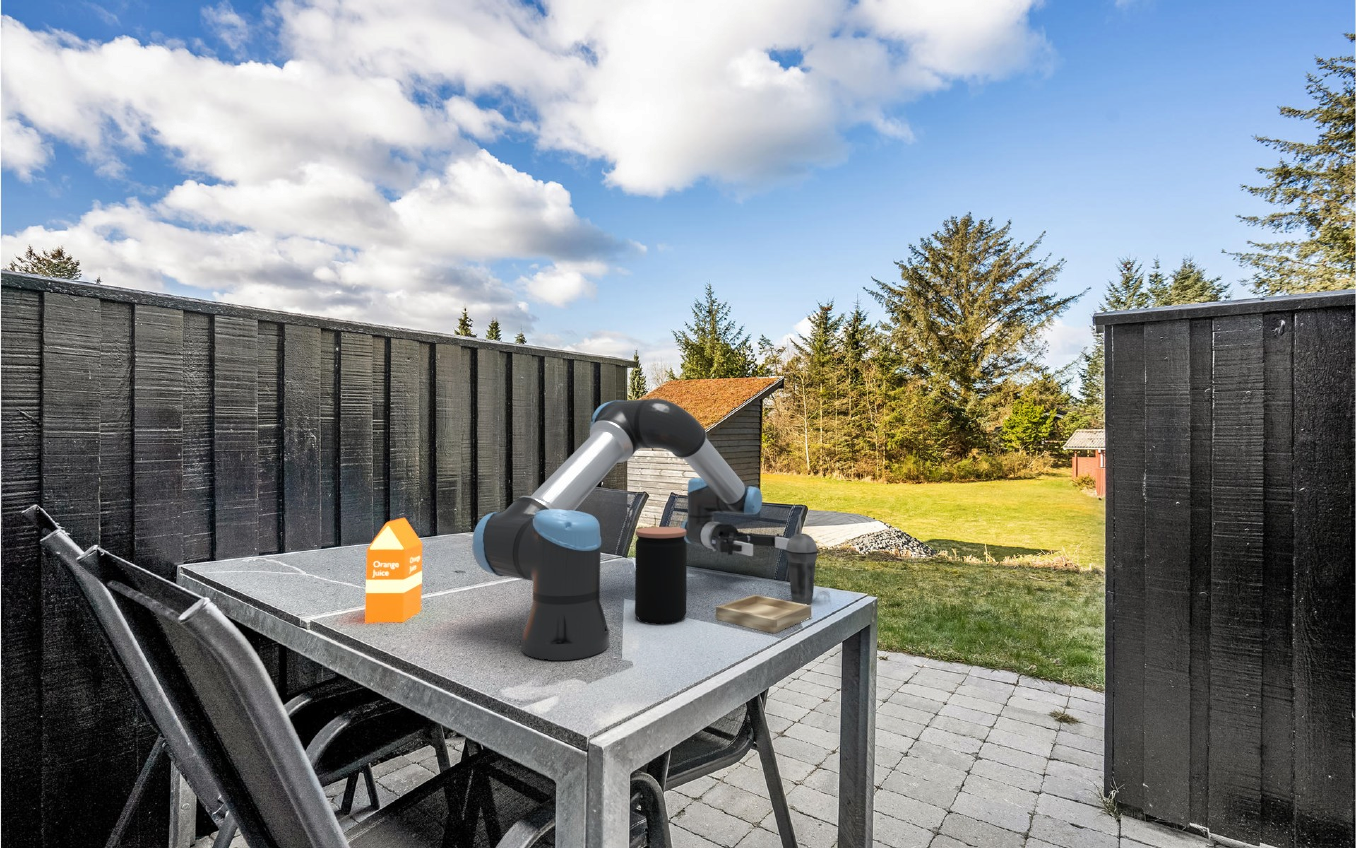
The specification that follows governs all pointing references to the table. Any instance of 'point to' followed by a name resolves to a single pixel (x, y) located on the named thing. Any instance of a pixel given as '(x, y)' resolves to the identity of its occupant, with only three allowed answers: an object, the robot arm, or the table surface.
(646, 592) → the coffee jar
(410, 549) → the orange juice
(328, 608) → the table surface
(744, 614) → the tray
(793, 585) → the beverage cup
